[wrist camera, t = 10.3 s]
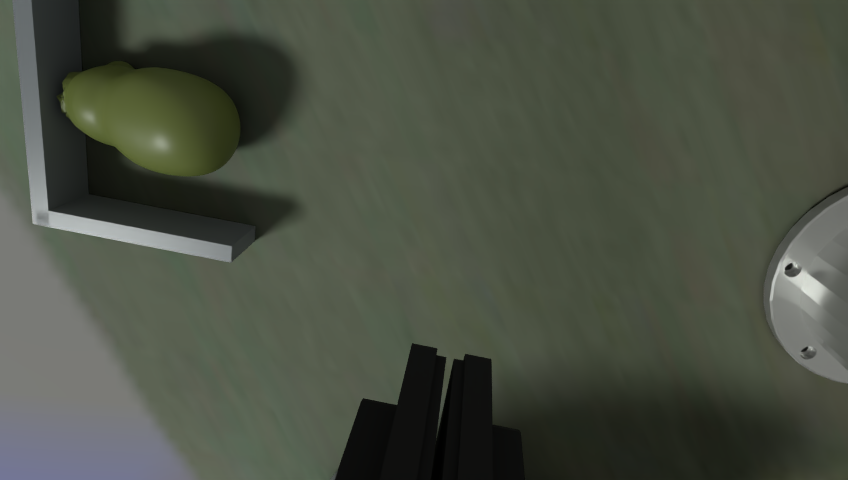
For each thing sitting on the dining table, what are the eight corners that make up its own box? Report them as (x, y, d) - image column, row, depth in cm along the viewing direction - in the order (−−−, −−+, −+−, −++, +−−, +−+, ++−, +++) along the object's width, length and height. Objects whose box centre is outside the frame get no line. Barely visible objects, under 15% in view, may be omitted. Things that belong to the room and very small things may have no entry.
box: (271, -41, 30) (244, -49, 26) (254, 241, 35) (231, 262, 32) (56, -78, 30) (4, -91, 27) (74, 206, 36) (32, 223, 33)
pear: (196, 199, 29) (35, 149, 31) (253, 177, 34) (111, 135, 36) (203, 89, 27) (29, 42, 29) (262, 82, 32) (111, 42, 33)
